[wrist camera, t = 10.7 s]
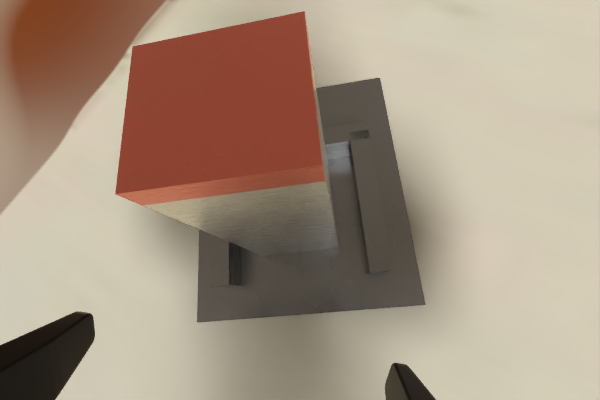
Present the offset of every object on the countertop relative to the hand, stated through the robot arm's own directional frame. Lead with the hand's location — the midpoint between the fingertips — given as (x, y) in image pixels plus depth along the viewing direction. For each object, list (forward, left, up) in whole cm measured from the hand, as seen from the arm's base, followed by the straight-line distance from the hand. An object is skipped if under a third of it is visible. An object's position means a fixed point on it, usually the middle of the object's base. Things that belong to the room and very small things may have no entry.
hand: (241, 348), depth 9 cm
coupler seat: (+8, -3, -10) cm, 13 cm away
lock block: (+6, -2, -10) cm, 12 cm away
